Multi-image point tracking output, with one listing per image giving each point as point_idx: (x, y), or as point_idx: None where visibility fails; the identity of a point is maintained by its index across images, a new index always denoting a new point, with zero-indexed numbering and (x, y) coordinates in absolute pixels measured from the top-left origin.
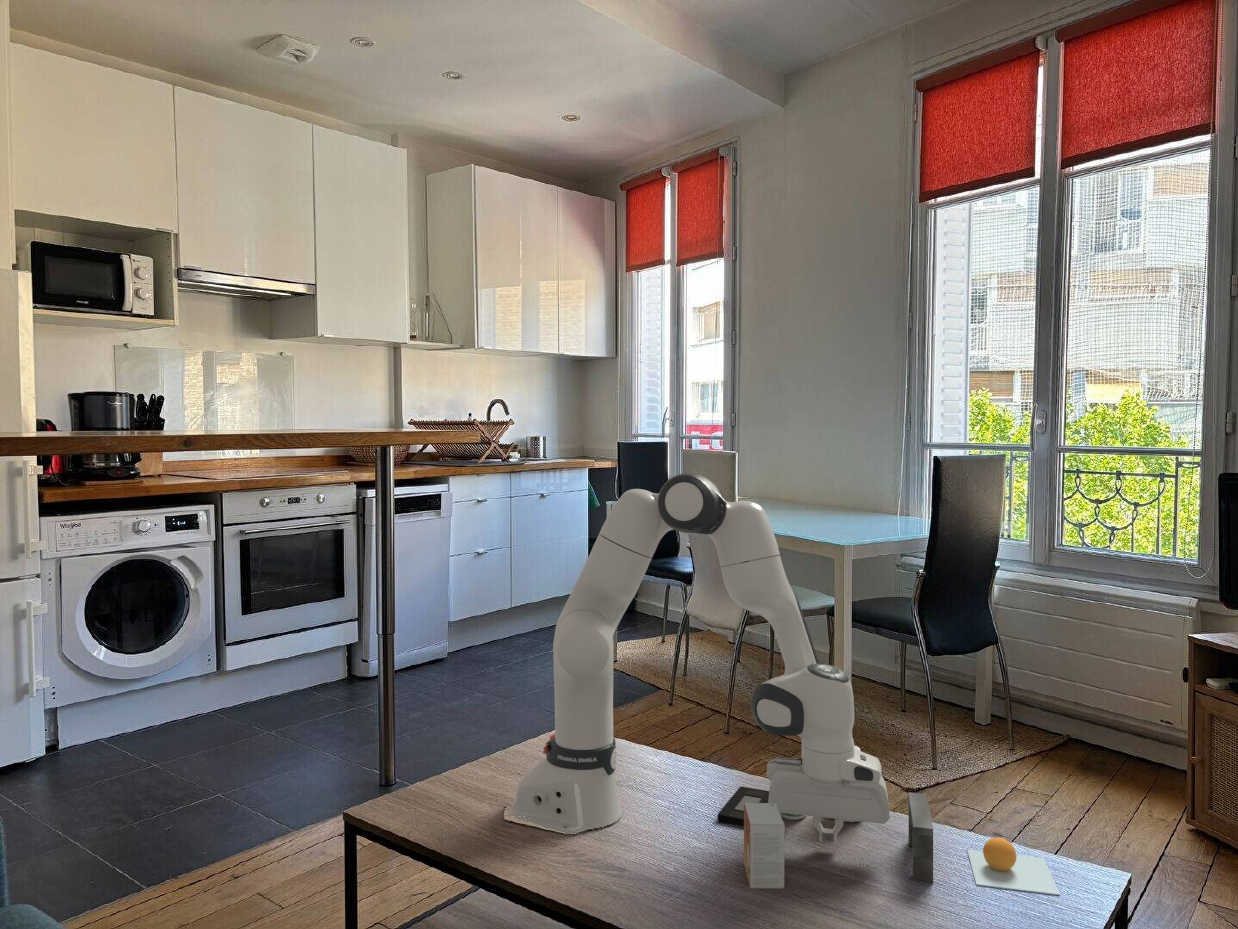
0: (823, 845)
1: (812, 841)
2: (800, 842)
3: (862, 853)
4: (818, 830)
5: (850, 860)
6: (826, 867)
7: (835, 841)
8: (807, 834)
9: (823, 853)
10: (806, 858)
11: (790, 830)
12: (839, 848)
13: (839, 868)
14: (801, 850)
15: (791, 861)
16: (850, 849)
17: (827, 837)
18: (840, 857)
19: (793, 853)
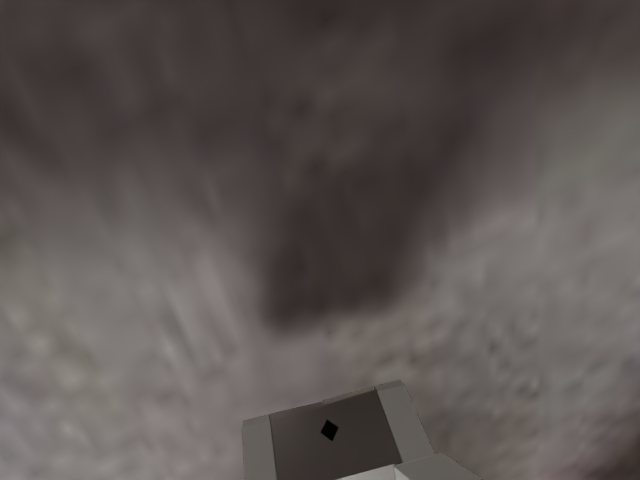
0: None
1: (441, 412)
2: (519, 365)
3: (56, 442)
4: (450, 467)
5: (90, 310)
6: (248, 76)
7: (253, 430)
8: (480, 462)
9: (337, 307)
10: (461, 163)
11: (581, 452)
12: None
13: (117, 119)
14: (509, 269)
15: (595, 38)
16: (164, 446)
17: (336, 435)
18: (189, 315)
19: (571, 195)
